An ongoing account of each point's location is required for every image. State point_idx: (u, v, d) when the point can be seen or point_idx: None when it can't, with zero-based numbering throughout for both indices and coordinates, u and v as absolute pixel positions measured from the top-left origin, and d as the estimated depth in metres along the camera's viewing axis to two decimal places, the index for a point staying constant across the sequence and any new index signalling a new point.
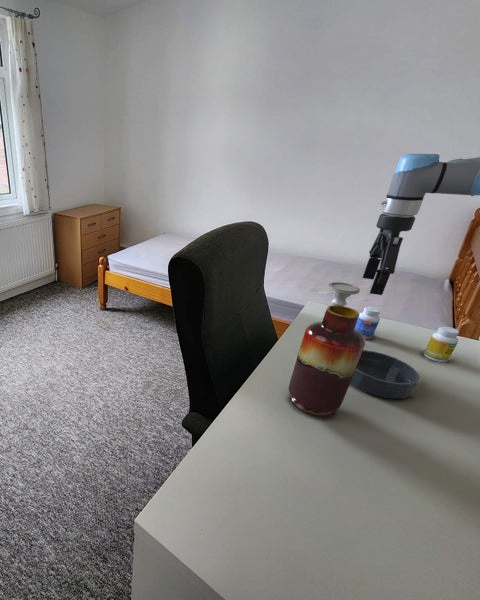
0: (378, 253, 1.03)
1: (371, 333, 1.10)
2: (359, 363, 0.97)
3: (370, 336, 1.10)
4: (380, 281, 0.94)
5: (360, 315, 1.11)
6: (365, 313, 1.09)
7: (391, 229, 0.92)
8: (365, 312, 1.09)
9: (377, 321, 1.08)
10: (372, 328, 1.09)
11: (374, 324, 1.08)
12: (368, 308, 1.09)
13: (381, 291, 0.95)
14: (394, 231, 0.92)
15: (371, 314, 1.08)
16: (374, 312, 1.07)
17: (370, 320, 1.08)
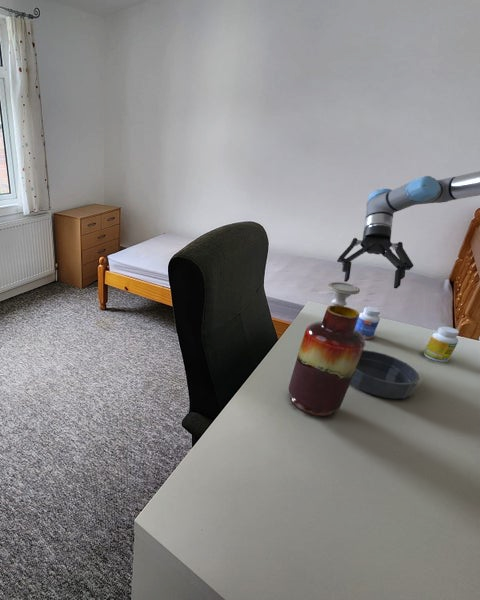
0: (395, 263, 1.14)
1: (371, 333, 1.10)
2: (359, 363, 0.97)
3: (370, 336, 1.10)
4: (342, 268, 1.20)
5: (360, 315, 1.11)
6: (365, 313, 1.09)
7: None
8: (365, 312, 1.09)
9: (377, 321, 1.08)
10: (372, 328, 1.09)
11: (374, 324, 1.08)
12: (368, 308, 1.09)
13: (346, 276, 1.18)
14: None
15: (371, 314, 1.08)
16: (374, 312, 1.07)
17: (370, 320, 1.08)
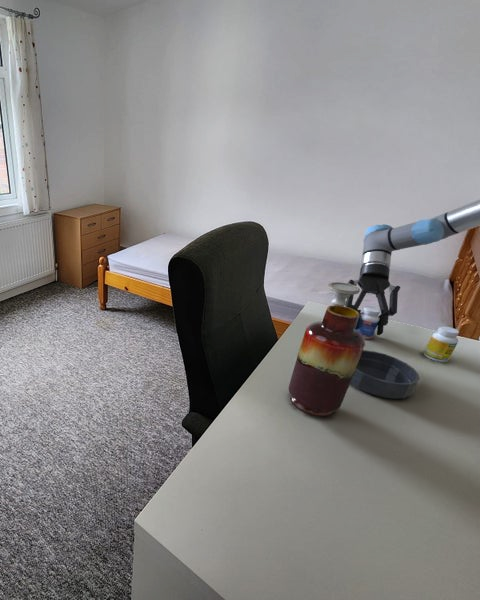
0: (381, 307, 1.10)
1: (371, 333, 1.10)
2: (359, 363, 0.97)
3: (370, 336, 1.10)
4: None
5: (360, 315, 1.11)
6: (365, 313, 1.09)
7: None
8: (365, 312, 1.09)
9: (377, 321, 1.08)
10: (372, 328, 1.09)
11: (374, 324, 1.08)
12: (368, 308, 1.09)
13: None
14: None
15: (371, 314, 1.08)
16: (374, 312, 1.07)
17: (370, 320, 1.08)
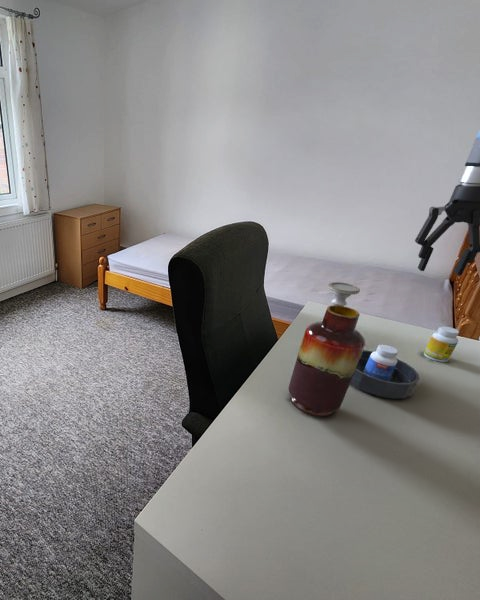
0: (471, 240, 0.88)
1: (386, 378, 0.88)
2: (359, 363, 0.97)
3: None
4: (419, 253, 0.95)
5: (372, 355, 0.89)
6: (379, 353, 0.88)
7: None
8: (379, 352, 0.88)
9: (394, 364, 0.86)
10: (387, 373, 0.87)
11: (390, 368, 0.87)
12: (383, 348, 0.88)
13: (421, 266, 0.94)
14: (450, 199, 0.88)
15: (386, 355, 0.86)
16: (390, 353, 0.86)
17: (385, 362, 0.87)
